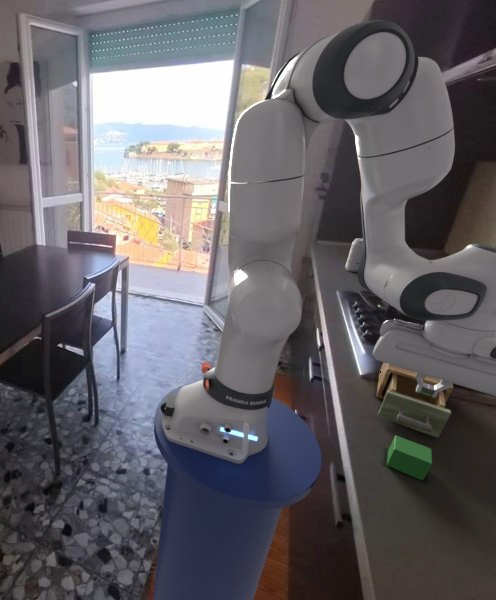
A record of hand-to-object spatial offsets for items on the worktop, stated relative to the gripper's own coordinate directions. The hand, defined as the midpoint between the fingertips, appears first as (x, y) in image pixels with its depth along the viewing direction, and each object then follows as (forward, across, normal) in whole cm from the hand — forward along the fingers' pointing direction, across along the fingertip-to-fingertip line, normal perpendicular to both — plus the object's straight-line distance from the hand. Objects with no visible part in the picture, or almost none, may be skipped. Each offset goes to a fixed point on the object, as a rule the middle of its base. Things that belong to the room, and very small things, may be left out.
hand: (425, 393), depth 70 cm
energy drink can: (+12, -21, +119) cm, 121 cm away
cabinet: (+12, +1, +20) cm, 24 cm away
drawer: (+12, +1, +8) cm, 14 cm away
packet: (+13, +1, -8) cm, 15 cm away
